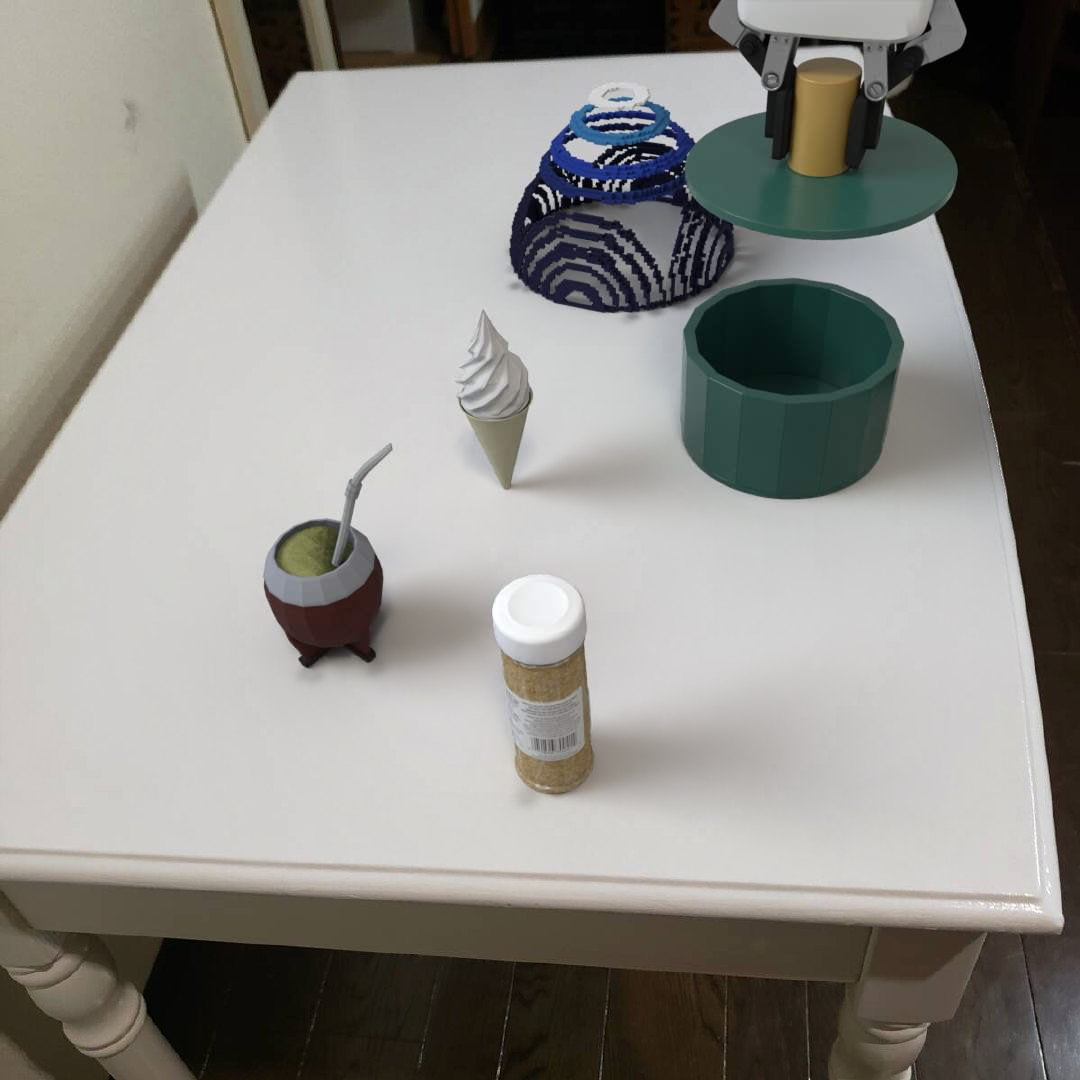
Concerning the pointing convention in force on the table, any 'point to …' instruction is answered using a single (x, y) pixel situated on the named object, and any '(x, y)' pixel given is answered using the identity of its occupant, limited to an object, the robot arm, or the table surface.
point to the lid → (821, 167)
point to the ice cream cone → (495, 397)
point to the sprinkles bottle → (546, 680)
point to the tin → (788, 386)
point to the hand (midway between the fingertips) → (820, 151)
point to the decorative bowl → (640, 190)
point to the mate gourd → (327, 581)
